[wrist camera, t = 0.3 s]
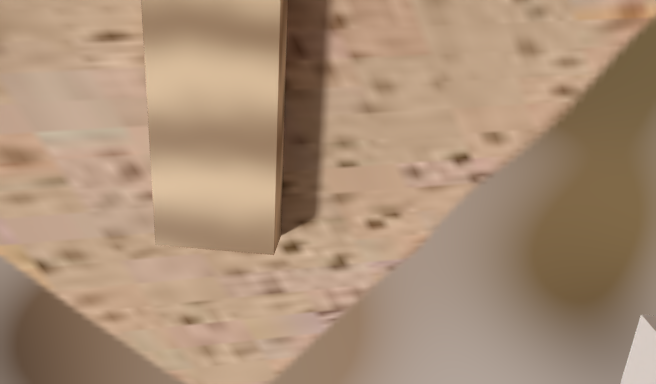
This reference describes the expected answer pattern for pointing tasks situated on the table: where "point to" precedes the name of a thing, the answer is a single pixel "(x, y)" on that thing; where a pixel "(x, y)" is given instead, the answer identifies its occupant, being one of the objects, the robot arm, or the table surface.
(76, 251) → the table surface
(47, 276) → the table surface
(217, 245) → the beige rectangular block
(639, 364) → the robot arm
